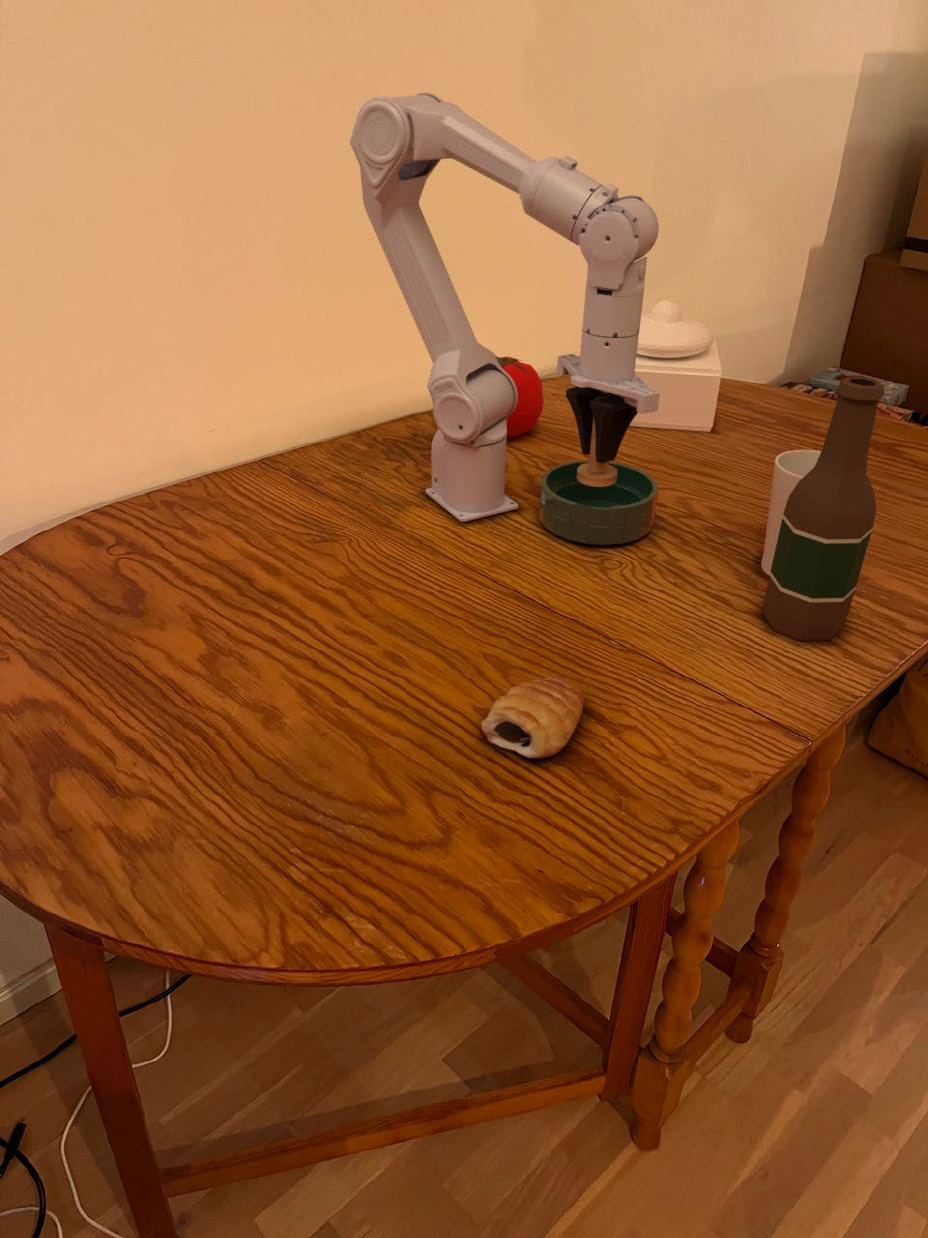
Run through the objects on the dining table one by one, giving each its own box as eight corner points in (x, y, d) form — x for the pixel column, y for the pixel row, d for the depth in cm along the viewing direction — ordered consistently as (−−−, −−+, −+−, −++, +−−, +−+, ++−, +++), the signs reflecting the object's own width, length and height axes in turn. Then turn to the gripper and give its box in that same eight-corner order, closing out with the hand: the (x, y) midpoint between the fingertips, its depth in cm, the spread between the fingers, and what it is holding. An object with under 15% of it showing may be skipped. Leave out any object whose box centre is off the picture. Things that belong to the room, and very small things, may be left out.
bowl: (517, 512, 109) (519, 473, 106) (606, 490, 114) (610, 452, 112) (582, 559, 99) (586, 518, 97) (676, 533, 105) (682, 493, 102)
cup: (835, 592, 94) (864, 484, 88) (755, 583, 95) (778, 477, 89) (825, 555, 101) (852, 453, 94) (751, 547, 102) (772, 446, 95)
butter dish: (589, 423, 134) (599, 312, 125) (595, 383, 149) (604, 282, 140) (711, 432, 132) (730, 319, 123) (705, 391, 146) (721, 288, 138)
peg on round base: (568, 475, 101) (574, 396, 96) (600, 467, 103) (607, 390, 98) (592, 490, 98) (600, 409, 93) (624, 481, 100) (634, 402, 95)
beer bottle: (843, 609, 91) (910, 372, 78) (844, 650, 85) (916, 401, 72) (763, 595, 93) (815, 362, 80) (758, 634, 87) (813, 389, 74)
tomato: (544, 449, 125) (549, 373, 119) (454, 448, 125) (454, 372, 119) (538, 415, 136) (542, 344, 131) (455, 414, 136) (456, 342, 131)
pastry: (534, 683, 80) (537, 647, 78) (603, 712, 77) (608, 675, 75) (474, 740, 74) (476, 703, 72) (546, 774, 71) (550, 736, 69)
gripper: (536, 318, 95) (530, 441, 103) (625, 354, 85) (611, 488, 92) (590, 309, 98) (580, 429, 106) (682, 344, 88) (664, 474, 95)
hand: (598, 456), depth 99 cm, fingers closed on peg on round base, 2 cm apart
